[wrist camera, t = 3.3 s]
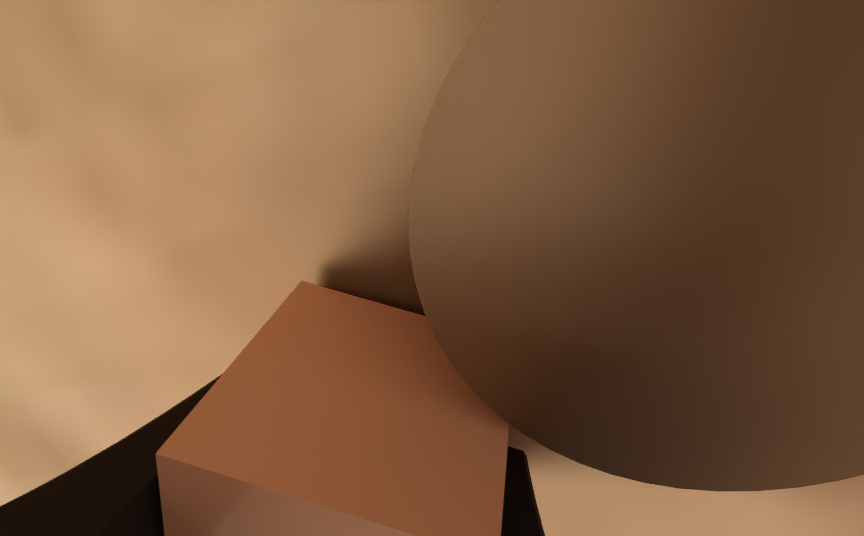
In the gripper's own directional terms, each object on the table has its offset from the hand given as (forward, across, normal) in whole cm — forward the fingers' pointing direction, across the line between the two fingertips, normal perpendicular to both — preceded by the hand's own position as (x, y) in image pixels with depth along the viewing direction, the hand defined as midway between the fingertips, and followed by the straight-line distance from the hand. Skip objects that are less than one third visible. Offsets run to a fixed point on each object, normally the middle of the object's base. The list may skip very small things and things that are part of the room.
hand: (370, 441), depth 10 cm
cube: (+1, 0, 0) cm, 1 cm away
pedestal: (+2, -4, -6) cm, 8 cm away
